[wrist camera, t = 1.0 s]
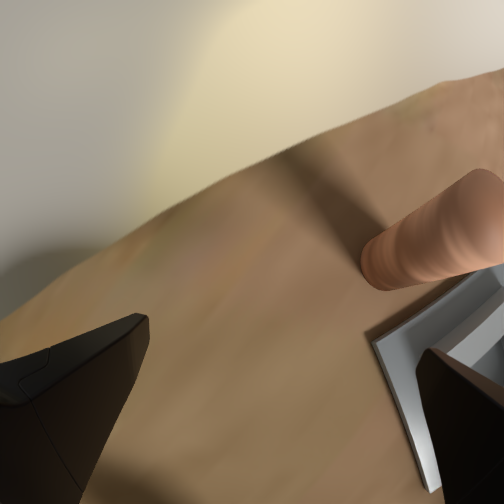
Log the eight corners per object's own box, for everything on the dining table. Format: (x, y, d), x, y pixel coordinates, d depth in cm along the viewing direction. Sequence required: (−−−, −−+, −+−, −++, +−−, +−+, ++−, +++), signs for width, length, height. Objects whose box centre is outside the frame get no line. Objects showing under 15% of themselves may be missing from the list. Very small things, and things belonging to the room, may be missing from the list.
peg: (416, 275, 23) (531, 239, 10) (375, 300, 23) (489, 280, 10) (393, 227, 24) (493, 159, 11) (350, 249, 23) (445, 184, 11)
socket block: (535, 385, 21) (558, 388, 17) (425, 489, 19) (445, 506, 15) (500, 248, 24) (525, 239, 20) (371, 341, 22) (393, 345, 18)
